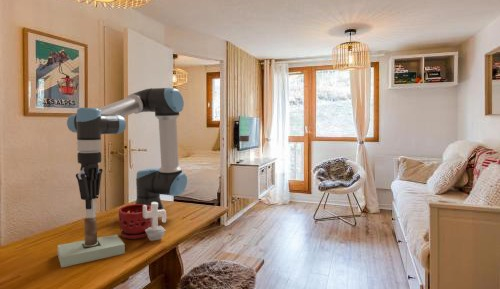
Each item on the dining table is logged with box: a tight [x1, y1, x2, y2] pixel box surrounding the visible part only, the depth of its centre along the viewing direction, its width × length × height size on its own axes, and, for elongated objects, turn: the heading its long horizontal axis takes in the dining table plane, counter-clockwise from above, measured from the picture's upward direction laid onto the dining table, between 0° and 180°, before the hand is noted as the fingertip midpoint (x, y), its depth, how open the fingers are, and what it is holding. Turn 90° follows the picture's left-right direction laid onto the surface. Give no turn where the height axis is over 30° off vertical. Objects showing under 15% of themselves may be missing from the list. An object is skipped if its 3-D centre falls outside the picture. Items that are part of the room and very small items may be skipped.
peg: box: [83, 217, 98, 249], centre depth 113 cm, size 4×4×13 cm
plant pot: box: [118, 203, 151, 240], centre depth 132 cm, size 13×13×12 cm
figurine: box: [143, 202, 167, 242], centre depth 129 cm, size 7×9×15 cm
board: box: [57, 233, 126, 268], centre depth 113 cm, size 20×12×4 cm, turn 126°
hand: (90, 217), depth 112 cm, fingers closed
